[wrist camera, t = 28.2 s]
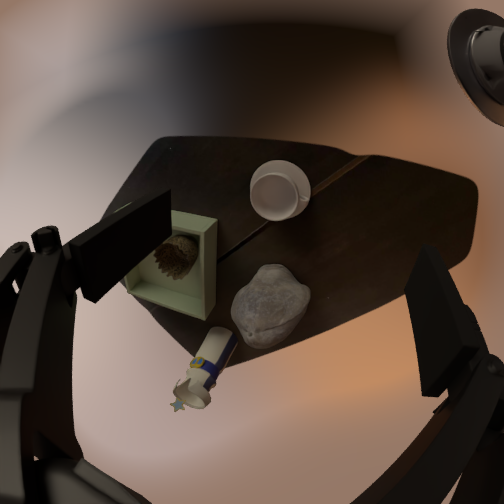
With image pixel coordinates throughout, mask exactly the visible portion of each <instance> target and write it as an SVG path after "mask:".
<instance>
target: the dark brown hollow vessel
mask: <svg viewBox="0 0 504 504" xmlns="http://www.w3.org/2000/svg"><path fill="white" fill-rule="evenodd" d="M153 256H154V257H155V258H156V260H155V263H158V262H159V264H158V265H159V266H158V269H161V272H162V273H166V272H168V273H167V275H166V276H167V277H169V276H172V278H173V280H177V279H180V280H182V279H183V278H184V277H185V276H186V275H188V274H189V272H190V270H191V269H192V267H193V265H194V264H195V262H196V260H197V257H198V241H197V240H196V238H195V237H193V236H191V235H176V236H173V237H171V238H169V239H168V240H166V241H164V242H163V243H162V244H161V245H160V246H159V247H157V248H156V249H155V253H154V254H153Z"/></svg>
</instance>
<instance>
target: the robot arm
mask: <svg viewBox="0 0 504 504" xmlns="http://www.w3.org/2000/svg"><path fill="white" fill-rule="evenodd" d="M469 57H470V62H471V65H472V68H473V71H474V73H475V75H476V77H477V79H478V81H479V83H480V84H481V86H482V87H483V88H484V90H485V91H486V92H487V93H488V94H489V95H490V96H491V97H492V98H493V99H494V100H495V101H496V102H498V103H500V104H501V105H503V106H504V28H502V27H497V26H484V27H481V28H479V29H477V30H476V31H474V33H473V34H472V36H471V38H470V41H469ZM171 235H172V217H171V189H166V188H157V189H155V190H153V191H152V192H150V193H148V194H146V195H144V196H142V197H141V198H139V199H137V200H135V201H134V202H132V203H130V204H128V205H127V206H125V207H123V208H121V209H120V210H118V211H116V212H115V213H113V214H111V215H110V216H108V217H106V218H105V219H103V220H101V221H100V222H98V223H96V224H95V225H93V226H92V227H90V228H89V229H87V230H85V231H84V232H82V233H81V234H79V235H78V236H76V237H75V238H73V239H72V240H70V241H69V242H67V243H66V244H65V245H63V246H62V244H61V240H60V235H59V231H58V228H57V227H56V226H46V227H42V228H40V229H38V230H36V231H35V232H34V233H33V234H32V235H31V238H32V241H33V245H34V248H35V251H36V252H31V250H30V247H29V244H28V243H27V242H17V243H15V244H14V245H12V246H11V247H10V248H8V249H7V251H6V252H5V253H4V254H3V255H2V257H1V258H0V504H152V503H151V502H149V501H148V500H147V499H146V498H144V497H143V496H142V495H140V494H138V493H137V492H135V491H133V490H132V489H130V488H128V487H126V486H125V485H123V484H122V483H120V482H118V481H117V480H115V479H113V478H112V477H110V476H109V475H107V474H105V473H104V472H102V471H101V470H99V469H98V468H96V467H95V466H93V465H92V464H90V463H89V462H87V461H86V460H85V459H84V457H83V452H82V450H81V447H80V445H79V443H78V441H77V439H76V436H75V431H74V419H73V401H72V355H73V336H74V323H75V313H76V304H77V294H76V292H75V291H76V290H77V289H78V288H79V287H80V288H81V291H82V294H83V297H84V298H85V299H87V300H89V301H91V302H93V303H97V302H98V301H99V300H100V299H101V298H102V297H103V296H104V295H105V294H106V293H107V292H108V291H109V290H110V289H111V288H112V287H114V286H115V285H116V284H117V283H118V282H119V281H120V280H121V279H122V278H123V277H124V276H126V275H127V274H128V273H129V272H130V271H131V270H132V269H133V268H134V267H136V266H137V265H138V264H139V263H140V262H141V261H142V260H144V259H145V258H146V257H147V256H148V255H149V254H150V253H152V252H153V251H154V250H155V249H156V248H157V247H159V246H160V245H161V244H162V243H163V242H164V241H166V240H167V239H168V238H169V237H170V236H171ZM14 280H15V281H16V283H17V286H18V288H19V291H18V293H16V292H15V290H14V288H13V285H12V283H13V281H14ZM404 291H405V295H406V299H407V303H408V308H409V313H410V318H411V323H412V328H413V334H414V339H415V345H416V352H417V358H418V366H419V373H420V381H421V391H422V396H427V397H439V396H440V395H441V394H442V393H443V392H444V391H445V390H446V389H447V390H448V397H447V398H446V399H445V400H444V401H443V402H442V403H441V404H440V405H439V406H438V408H436V409H435V410H434V411H433V413H434V415H433V417H432V418H431V419H430V421H429V422H428V423H427V425H426V426H425V427H424V428H423V430H422V431H421V432H420V433H419V435H418V436H417V437H416V438H415V440H414V441H413V442H412V443H411V444H410V446H409V447H408V448H407V449H406V450H405V451H404V452H403V453H402V454H401V456H400V457H399V458H398V459H397V460H396V461H395V462H394V463H393V464H392V465H391V466H390V467H389V468H388V469H387V470H386V471H385V472H384V473H383V475H381V476H380V477H379V478H378V479H377V480H376V481H375V482H374V483H373V484H372V485H371V486H370V487H369V488H367V489H366V490H365V491H364V492H363V493H362V494H361V495H360V496H358V497H357V498H356V499H355V500H354V501H353V502H351V503H350V504H441V503H442V501H443V500H444V498H445V497H446V496H447V494H448V493H449V492H450V490H451V489H452V487H453V486H454V484H455V483H456V481H457V480H458V478H459V477H460V475H461V474H462V475H461V478H460V480H459V482H458V485H457V488H456V490H455V492H454V495H453V497H452V499H451V501H450V503H449V504H504V364H503V362H502V361H501V360H500V359H499V358H498V357H497V356H495V355H493V354H489V351H488V348H487V345H486V342H485V340H484V337H483V334H482V332H481V331H480V330H481V329H480V327H479V325H478V324H477V323H478V322H477V320H476V317H475V315H474V313H473V312H472V310H471V309H470V308H469V307H468V305H465V304H464V303H463V301H462V299H461V297H460V294H459V292H458V290H457V288H456V285H455V283H454V281H453V279H452V277H451V275H450V273H449V271H448V269H447V267H446V265H445V263H444V261H443V259H442V257H441V256H440V254H439V252H438V250H437V248H436V247H434V246H430V245H426V244H423V245H422V248H421V250H420V253H419V256H418V258H417V261H416V263H415V265H414V268H413V270H412V273H411V275H410V277H409V280H408V282H407V284H406V286H405V289H404ZM34 456H36V457H37V458H38V459H39V460H36V461H34Z"/></svg>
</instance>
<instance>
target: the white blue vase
mask: <svg viewBox="0 0 504 504" xmlns="http://www.w3.org/2000/svg"><path fill="white" fill-rule="evenodd" d="M237 344H238V340H237V337H236V336H235V335H234V333H232V332H231V331H230V330H228V329H226V328H223V327H213V328H211V329H210V330H209V332H208V334H207V336H206V338H205V340H204V342H203V344H202V346H201V347H200V349H199V351H198V353H197V354H196V357H195V358H194V359H193V360H192V361H191V363H190V367H191V368H190V369H188V370H187V377H186V380H185V381H184V382H183V383H182V384H181V385H179V386H178V387H177V384H178V382H177V383H176V386H175V388H174V390H173V393H174V395H175V396H176V402H174V403H171V404H170V405H171V406H173V407H174V411H175V412H176V411H177V410H179V409H182V410H185V408H184V407H183V404H185V405H187V406H189V407H192V408H196V409H204V408H205V407H206V406H207V405H208V404H209V403H210V402H211V397H210V394H209V391H210V389H211V388H214V387H215V386H216V379H217V377H218V376H219V374H221V373H222V371H223V370H224V368H225V366H226V364H227V362H228V360H229V358H230V357H231V355H232V353H233V351H234V349H235V348H236V346H237Z"/></svg>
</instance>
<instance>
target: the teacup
mask: <svg viewBox="0 0 504 504" xmlns="http://www.w3.org/2000/svg"><path fill="white" fill-rule="evenodd" d="M250 191H251V192H250V200H251V203H252V206H253V208H254V209H255V211H256V212H257V213H258V214H259V215H260V216H262V217H263V218H265V219H268V220H272V221H281V220H284V219H287V218H291V217H294V216H296V215H298V214H299V213H301V212H302V211H303V210H304V209H305V207H306V206H307V205H308V202H309V199H310V184H309V181H308V179H307V177H306V175H305V174H304V172H303V171H302V170H301V169H300V168H299V167H297V166H296V165H294V164H292V163H290V162H287V161H282V160H274V161H270V162H267V163H265V164H263V165H262V166H260V167H259V168H258V169H257V170H256V171H255V173H254V175H253V177H252V179H251V184H250Z"/></svg>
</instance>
